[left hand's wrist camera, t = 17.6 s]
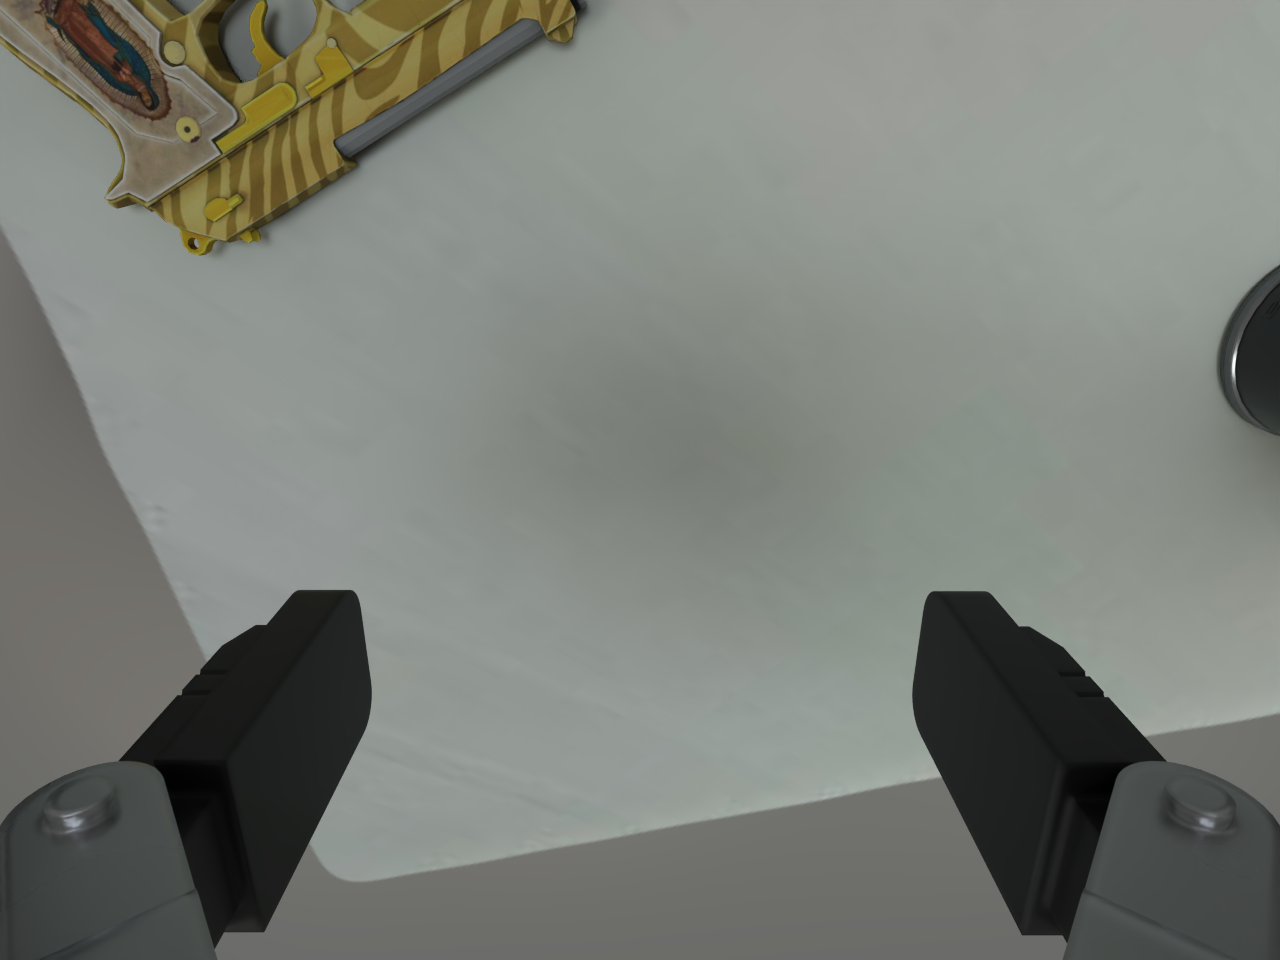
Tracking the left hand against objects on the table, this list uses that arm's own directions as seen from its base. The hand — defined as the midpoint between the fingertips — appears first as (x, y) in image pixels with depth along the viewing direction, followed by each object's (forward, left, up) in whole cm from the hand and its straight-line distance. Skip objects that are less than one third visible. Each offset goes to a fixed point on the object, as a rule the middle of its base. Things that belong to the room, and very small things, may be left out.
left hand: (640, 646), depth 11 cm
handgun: (+20, +2, -30) cm, 36 cm away
